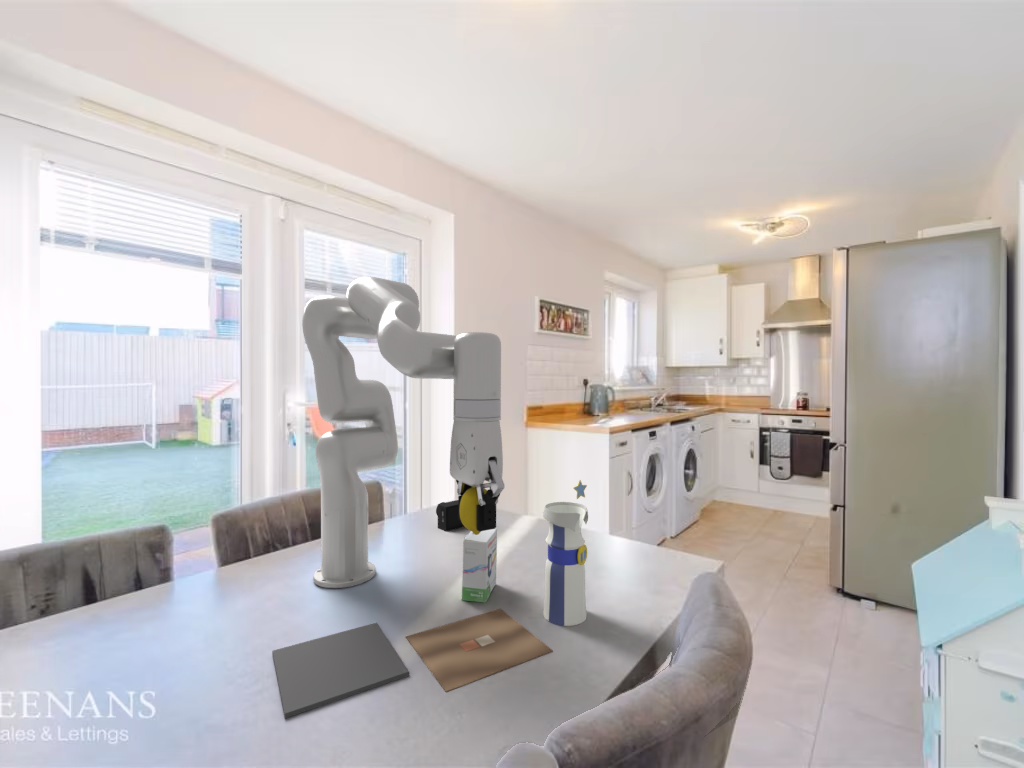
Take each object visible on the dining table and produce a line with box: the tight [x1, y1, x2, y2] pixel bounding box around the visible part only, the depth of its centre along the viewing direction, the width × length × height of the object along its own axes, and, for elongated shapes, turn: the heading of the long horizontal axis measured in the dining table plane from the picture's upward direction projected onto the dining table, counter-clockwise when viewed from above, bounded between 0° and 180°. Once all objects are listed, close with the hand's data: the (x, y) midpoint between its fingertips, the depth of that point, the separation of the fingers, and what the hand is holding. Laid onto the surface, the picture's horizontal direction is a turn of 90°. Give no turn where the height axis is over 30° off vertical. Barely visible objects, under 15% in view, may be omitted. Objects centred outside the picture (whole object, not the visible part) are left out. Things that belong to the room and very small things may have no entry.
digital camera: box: [435, 499, 466, 532], centre depth 136 cm, size 10×5×7 cm, turn 133°
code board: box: [405, 608, 554, 693], centre depth 75 cm, size 16×18×1 cm
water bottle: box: [542, 479, 589, 627], centre depth 84 cm, size 8×9×25 cm
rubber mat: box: [271, 622, 410, 719], centre depth 69 cm, size 16×16×1 cm
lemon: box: [459, 487, 488, 535], centre depth 75 cm, size 6×6×8 cm
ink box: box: [461, 528, 498, 603], centre depth 93 cm, size 9×5×12 cm, turn 168°
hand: (476, 523), depth 75 cm, fingers closed on lemon, 5 cm apart
